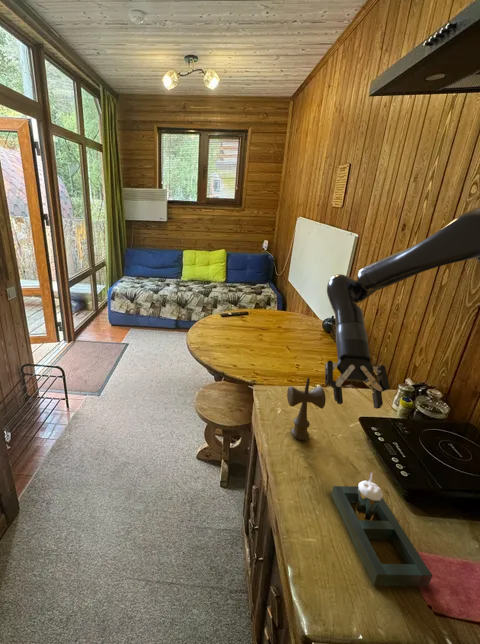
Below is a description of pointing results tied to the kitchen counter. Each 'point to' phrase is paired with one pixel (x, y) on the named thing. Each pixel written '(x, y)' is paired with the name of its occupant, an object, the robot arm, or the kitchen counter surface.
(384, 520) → the frame
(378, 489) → the milkshake
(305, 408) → the kendama
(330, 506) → the kitchen counter surface
